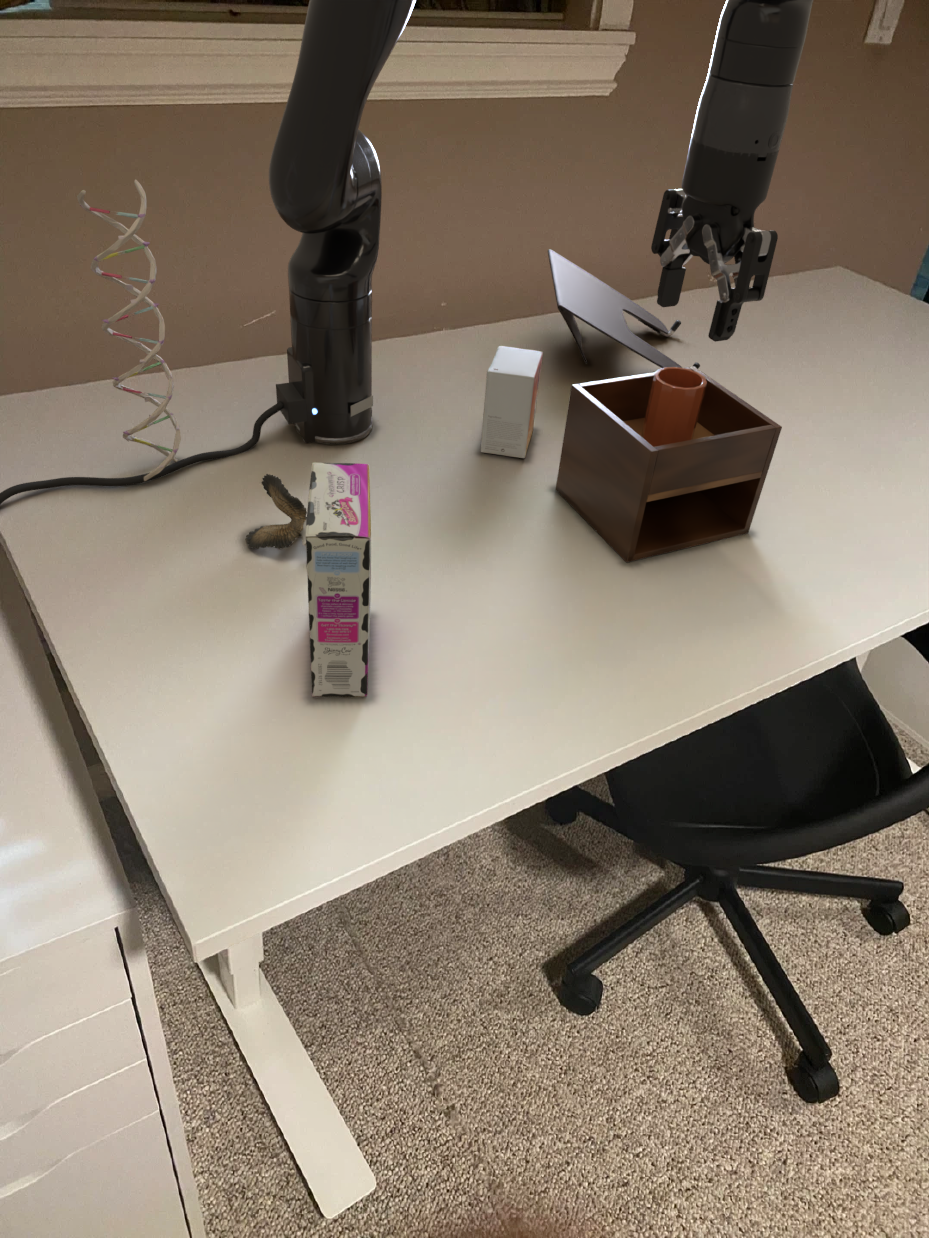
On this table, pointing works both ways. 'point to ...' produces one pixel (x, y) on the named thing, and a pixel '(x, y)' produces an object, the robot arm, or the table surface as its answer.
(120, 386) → the dna model
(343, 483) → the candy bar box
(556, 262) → the laptop tray
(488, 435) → the small box
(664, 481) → the box
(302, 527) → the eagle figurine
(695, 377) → the cup
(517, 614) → the table surface
